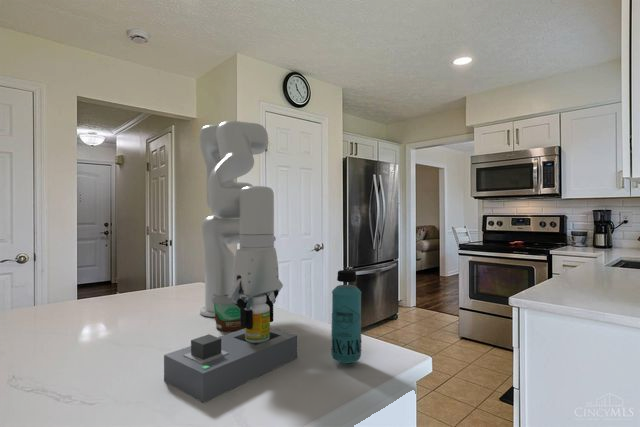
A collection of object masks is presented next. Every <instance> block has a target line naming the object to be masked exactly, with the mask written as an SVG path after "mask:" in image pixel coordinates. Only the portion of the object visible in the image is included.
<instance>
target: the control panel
mask: <svg viewBox="0 0 640 427" xmlns="http://www.w3.org/2000/svg"><path fill="white" fill-rule="evenodd" d="M297 358H298V334H295V333H291V332H287V331H285V330H279V329H277V328H273V327H270V338H269V340H268V341H266V342H262V343H250V342H247V341H246V339H245V329H241V330H238V331H235V332H228V333H227V334H224V335H221V336H215V335H212V334H206V335H203V336H200V337H197V338H193V339H190V346H187V347H184V348H181V349H178V350H175V351H171V352H168V353H165V354H163V366H164V367H163V381H164V382H166V383H167V384H169V385H171V386H172V387H175V388H176V389H178V390H180V391H181V392H184V393H185V394H187V395H188V396H190V397H192V398H195V399H196V400H197V401H199V402H202V403H203V404H204V403H205V402H208V401H210V400H212V399H214V398H216V397H218V396H220V395H222V394H224V393H227V392H228V391H231V390H233V389H235V388H237V387H239V386H241V385H244V384H245V382H246V383H247V381H248V382H249V380H250V381H252V380H254V379H256V378H259V377H261V376H262V375H264V374H266V373H268V372H270V371H273V370H274V369H277V368H278V367H281V366H283V365H285V364H287V363H289V362H291V361H293V360H295V359H297Z"/></svg>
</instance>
